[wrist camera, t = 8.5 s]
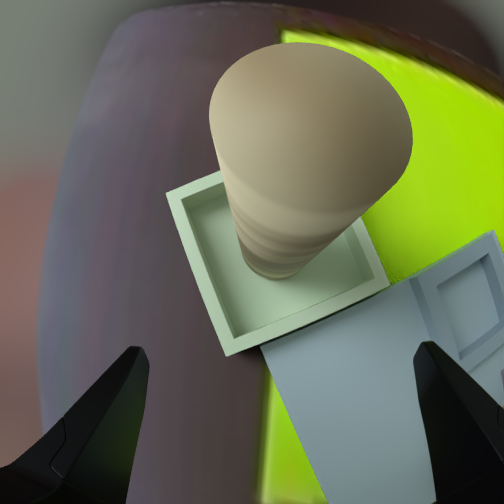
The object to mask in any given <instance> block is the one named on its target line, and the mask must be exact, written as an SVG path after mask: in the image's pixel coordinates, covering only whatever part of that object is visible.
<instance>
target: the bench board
mask: <svg viewBox="0 0 504 504" xmlns="http://www.w3.org/2000/svg"><path fill="white" fill-rule="evenodd" d="M430 340H431V341H434V342H435V343H436V344H437V345H438V346H439V347H441V348H442V349H443V350H444V351H445V352H446V353H447V354H448V355H449V356H450V357H451V358H452V359H453V360H454V361H455V362H457V363H458V364H459V365H460V366H461V367H462V368H463V369H464V370H465V371H466V372H467V373H468V374H469V375H470V376H471V377H472V378H473V379H474V380H475V381H476V382H477V383H478V384H479V385H480V386H481V387H482V388H483V389H484V390H485V391H486V392H487V393H488V394H489V395H490V396H491V397H492V398H493V399H494V400H495V401H496V402H497V403H498V404H499V405H500V406H501V407H502V408H503V409H504V255H503V252H502V250H501V247H500V244H499V242H498V239H497V236H496V234H495V231H494V230H491V231H489V232H486V233H484V234H483V235H481V236H479V237H478V238H476V239H474V240H473V241H471V242H469V243H468V244H466V245H464V246H463V247H461V248H459V249H457V250H456V251H454V252H452V253H451V254H449V255H447V256H445V257H444V258H442V259H440V260H438V261H436V262H435V263H433V264H431V265H429V266H427V267H425V268H424V269H422V270H420V271H418V272H416V273H414V274H412V275H411V276H409V277H407V278H405V279H403V280H401V281H399V282H397V283H395V284H393V285H391V286H389V287H387V288H385V289H383V290H381V291H379V292H377V293H375V294H373V295H371V296H369V297H367V298H365V299H363V300H361V301H359V302H357V303H355V304H353V305H350V306H348V307H346V308H344V309H342V310H340V311H337V312H335V313H333V314H331V315H329V316H326V317H324V318H322V319H320V320H317V321H315V322H313V323H311V324H308V325H306V326H304V327H301V328H299V329H297V330H294V331H292V332H290V333H287V334H285V335H282V336H280V337H277V338H275V339H273V340H270V341H268V342H265V343H263V344H260V348H261V351H262V353H263V356H264V358H265V360H266V363H267V365H268V367H269V370H270V372H271V375H272V377H273V379H274V382H275V384H276V386H277V389H278V391H279V393H280V396H281V398H282V400H283V403H284V405H285V407H286V410H287V412H288V414H289V417H290V419H291V421H292V423H293V426H294V428H295V430H296V432H297V435H298V437H299V439H300V442H301V444H302V446H303V448H304V451H305V453H306V455H307V457H308V459H309V462H310V464H311V466H312V468H313V470H314V473H315V475H316V477H317V479H318V481H319V484H320V486H321V488H322V490H323V492H324V494H325V497H326V499H327V501H328V503H329V504H432V503H433V502H435V501H437V500H436V495H435V487H434V480H433V474H432V467H431V461H430V455H429V450H428V445H427V439H426V434H425V429H424V425H423V420H422V415H421V411H420V407H419V402H418V395H417V387H416V380H415V373H414V367H413V357H414V355H415V353H416V351H417V349H418V347H419V345H420V343H421V342H423V341H430Z"/></svg>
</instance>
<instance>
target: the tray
mask: <svg viewBox="0 0 504 504" xmlns="http://www.w3.org/2000/svg"><path fill="white" fill-rule="evenodd" d="M166 196H167V199H168V202H169V205H170V208H171V211H172V214H173V217H174V220H175V223H176V226H177V229H178V232H179V234H180V237H181V240H182V243H183V246H184V249H185V251H186V254H187V257H188V260H189V262H190V265H191V268H192V271H193V273H194V276H195V279H196V281H197V284H198V287H199V289H200V292H201V295H202V297H203V300H204V302H205V305H206V308H207V310H208V313H209V315H210V318H211V320H212V323H213V325H214V328H215V330H216V333H217V335H218V338H219V340H220V343H221V345H222V348H223V350H224V352H225V355H226V356H229V355H231V354H234V353H237V352H239V351H242V350H245V349H247V348H250V347H253V346H255V345H258V344H260V343H263V342H265V341H268V340H270V339H273V338H275V337H278V336H280V335H282V334H285V333H287V332H290V331H292V330H294V329H297V328H299V327H302V326H304V325H306V324H308V323H311V322H313V321H315V320H318V319H320V318H322V317H324V316H327V315H329V314H331V313H333V312H335V311H338V310H340V309H342V308H344V307H346V306H348V305H351V304H353V303H355V302H357V301H359V300H361V299H363V298H365V297H367V296H369V295H371V294H373V293H375V292H377V291H379V290H382V289H384V288H385V287H387V286H389V285H390V282H389V280H388V277H387V275H386V273H385V270H384V268H383V265H382V263H381V261H380V258H379V256H378V254H377V252H376V249H375V247H374V245H373V242H372V240H371V238H370V236H369V234H368V231H367V229H366V227H365V225H364V223H363V221H362V219H361V216H360V217H359V218H358V219H357V220H356V221H355V222H354V223H353V224H351V225H350V226H349V227H348V228H347V229H346V230H345V231H344V232H343V233H342V234H340V235H339V236H338V237H337V238H336V239H335V240H334V241H333V242H331V243H330V244H329V245H328V246H327V247H326V248H325V249H324V250H322V251H321V252H320V253H319V254H318V255H317V256H316V257H315V258H313V259H312V260H311V261H310V262H309V263H308V264H307V265H305V266H304V267H303V268H302V269H301V270H300V271H298V272H297V273H296V274H294V275H293V276H291V277H289V278H286V279H281V280H271V279H266V278H263V277H261V276H259V275H257V274H256V273H254V272H253V271H252V270H251V269H250V268H249V267H248V266H247V264H246V263H245V261H244V259H243V256H242V252H241V249H240V245H239V241H238V237H237V233H236V229H235V225H234V221H233V217H232V213H231V209H230V205H229V201H228V197H227V193H226V189H225V185H224V181H223V177H222V173H221V171H218V172H216V173H213V174H211V175H208V176H206V177H203V178H201V179H198V180H196V181H194V182H191V183H189V184H186V185H184V186H182V187H179V188H177V189H175V190H172V191H170V192H168V193H166Z"/></svg>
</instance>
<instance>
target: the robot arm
mask: <svg viewBox="0 0 504 504" xmlns="http://www.w3.org/2000/svg"><path fill="white" fill-rule="evenodd" d="M413 367H414V373H415V380H416V387H417V395H418V402H419V407H420V411H421V415H422V420H423V425H424V429H425V434H426V439H427V445H428V450H429V455H430V461H431V467H432V474H433V480H434V487H435V495H436V500H437V501H436V504H504V409H503V408H502V407H501V406H500V405H499V404H498V403H497V402H496V401H495V400H494V399H493V398H492V397H491V396H490V395H489V394H488V393H487V392H486V391H485V390H484V389H483V388H482V387H481V386H480V385H479V384H478V383H477V382H476V381H475V380H474V379H473V378H472V377H471V376H470V375H469V374H468V373H467V372H466V371H465V370H464V369H463V368H462V367H461V366H460V365H459V364H458V363H457V362H455V361H454V360H453V359H452V358H451V357H450V356H449V355H448V354H447V353H446V352H445V351H444V350H443V349H442V348H441V347H439V346H438V345H437V344H436V343H435V342H434V341H431V340H430V341H423V342H421V343H420V345H419V347H418V349H417V351H416V353H415V355H414V357H413ZM148 376H149V361H148V359H147V356H146V354H145V351H144V349H143V348H142V347H139V346H130V347H128V348H127V349H126V350H125V351H124V353H123V354H122V355H121V356H120V357H119V358H118V359H117V360H116V361H115V362H114V363H113V364H112V365H111V366H110V367H109V368H108V369H107V370H106V371H105V372H104V373H103V374H102V375H101V376H100V377H99V379H98V380H97V381H96V382H95V383H94V384H93V385H92V386H91V387H90V388H89V389H88V390H87V391H86V392H85V393H84V394H83V395H82V396H81V397H80V399H79V400H78V401H77V402H76V403H75V404H74V405H73V406H72V407H71V408H70V409H69V410H68V411H67V412H66V413H65V414H64V416H63V417H62V418H61V419H60V420H59V421H58V422H57V423H56V424H55V425H54V426H53V427H52V428H51V429H50V430H49V431H48V432H47V433H46V434H45V435H44V436H43V437H42V438H41V439H39V440H38V441H37V442H36V443H35V444H34V445H33V446H32V447H30V448H29V449H28V450H27V451H26V452H25V453H24V454H22V455H21V456H20V457H19V458H18V459H16V460H15V461H14V462H12V463H11V464H9V465H7V466H4V467H1V468H0V504H126V498H127V492H128V487H129V481H130V476H131V471H132V466H133V461H134V456H135V451H136V446H137V441H138V437H139V432H140V427H141V423H142V419H143V414H144V409H145V402H146V393H147V384H148Z"/></svg>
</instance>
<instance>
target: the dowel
mask: <svg viewBox="0 0 504 504" xmlns="http://www.w3.org/2000/svg"><path fill="white" fill-rule="evenodd" d="M209 121H210V127H211V133H212V137H213V141H214V145H215V149H216V153H217V157H218V161H219V165H220V169H221V173H222V177H223V181H224V185H225V189H226V193H227V197H228V201H229V205H230V209H231V213H232V217H233V221H234V225H235V229H236V233H237V237H238V241H239V245H240V249H241V252H242V256H243V259H244V261H245V263H246V264H247V266H248V267H249V268H250V269H251V270H252V271H253V272H254V273H256V274H257V275H259V276H261V277H263V278H266V279H271V280H281V279H286V278H289V277H291V276H293V275H294V274H296V273H297V272H298V271H300V270H301V269H302V268H303V267H304V266H305V265H307V264H308V263H309V262H310V261H311V260H312V259H313V258H315V257H316V256H317V255H318V254H319V253H320V252H321V251H322V250H324V249H325V248H326V247H327V246H328V245H329V244H330V243H331V242H333V241H334V240H335V239H336V238H337V237H338V236H339V235H340V234H342V233H343V232H344V231H345V230H346V229H347V228H348V227H349V226H350V225H351V224H353V223H354V222H355V221H356V220H357V219H358V218H359V217H360V216H361V215H362V214H364V213H365V212H366V211H367V210H368V209H369V208H370V207H371V206H372V205H373V204H374V203H375V202H376V201H378V200H379V199H380V198H381V197H382V196H383V195H384V194H385V193H386V192H387V191H388V190H389V189H390V188H391V187H392V186H393V185H394V184H396V183H397V181H398V180H399V179H400V177H401V176H402V174H403V173H404V171H405V169H406V167H407V165H408V163H409V159H410V156H411V152H412V144H413V137H412V127H411V122H410V118H409V115H408V112H407V110H406V108H405V106H404V103H403V101H402V100H401V98H400V96H399V95H398V93H397V92H396V90H395V89H394V88H393V87H392V85H391V84H390V83H389V82H388V81H387V80H386V79H385V78H384V77H383V76H382V75H381V74H380V73H379V72H378V71H376V70H375V69H374V68H373V67H371V66H370V65H368V64H367V63H366V62H364V61H362V60H361V59H359V58H357V57H355V56H353V55H351V54H349V53H347V52H344V51H342V50H339V49H336V48H333V47H329V46H325V45H320V44H313V43H299V42H295V43H283V44H276V45H272V46H268V47H264V48H261V49H259V50H256V51H254V52H252V53H250V54H248V55H246V56H244V57H243V58H241V59H240V60H238V61H237V62H236V63H234V64H233V65H232V66H231V67H230V68H229V69H228V70H227V71H226V72H225V73H224V75H223V76H222V77H221V79H220V80H219V82H218V84H217V85H216V87H215V89H214V92H213V95H212V98H211V103H210V108H209Z"/></svg>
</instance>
